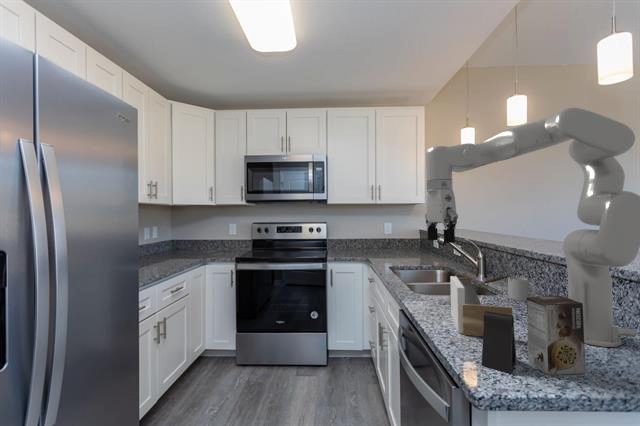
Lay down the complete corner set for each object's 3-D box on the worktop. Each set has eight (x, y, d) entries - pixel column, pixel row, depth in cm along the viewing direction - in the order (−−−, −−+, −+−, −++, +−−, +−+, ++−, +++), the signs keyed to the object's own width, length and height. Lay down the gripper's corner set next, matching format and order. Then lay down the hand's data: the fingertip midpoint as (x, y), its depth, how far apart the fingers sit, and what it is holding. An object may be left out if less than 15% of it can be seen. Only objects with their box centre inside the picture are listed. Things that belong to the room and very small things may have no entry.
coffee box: (562, 360, 73) (560, 295, 74) (586, 374, 67) (585, 302, 67) (526, 361, 73) (525, 296, 73) (548, 375, 66) (546, 303, 67)
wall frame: (457, 314, 108) (456, 276, 108) (465, 333, 90) (464, 288, 91) (451, 314, 108) (450, 276, 108) (458, 333, 91) (457, 287, 91)
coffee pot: (444, 311, 112) (443, 271, 112) (452, 303, 121) (451, 267, 121) (511, 323, 99) (510, 278, 99) (514, 313, 108) (513, 272, 108)
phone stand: (510, 374, 67) (509, 321, 67) (481, 365, 71) (480, 316, 71) (517, 359, 74) (515, 311, 74) (490, 352, 78) (489, 307, 78)
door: (462, 333, 90) (462, 303, 90) (511, 337, 86) (510, 307, 86) (463, 335, 88) (463, 305, 88) (513, 340, 84) (513, 309, 84)
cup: (510, 295, 132) (509, 275, 132) (537, 299, 125) (537, 278, 125) (506, 299, 126) (506, 278, 126) (535, 303, 119) (534, 281, 120)
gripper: (467, 183, 84) (468, 243, 84) (436, 189, 101) (437, 239, 101) (443, 183, 83) (444, 244, 83) (415, 189, 101) (416, 239, 100)
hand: (440, 241), depth 92 cm, fingers open, 9 cm apart
